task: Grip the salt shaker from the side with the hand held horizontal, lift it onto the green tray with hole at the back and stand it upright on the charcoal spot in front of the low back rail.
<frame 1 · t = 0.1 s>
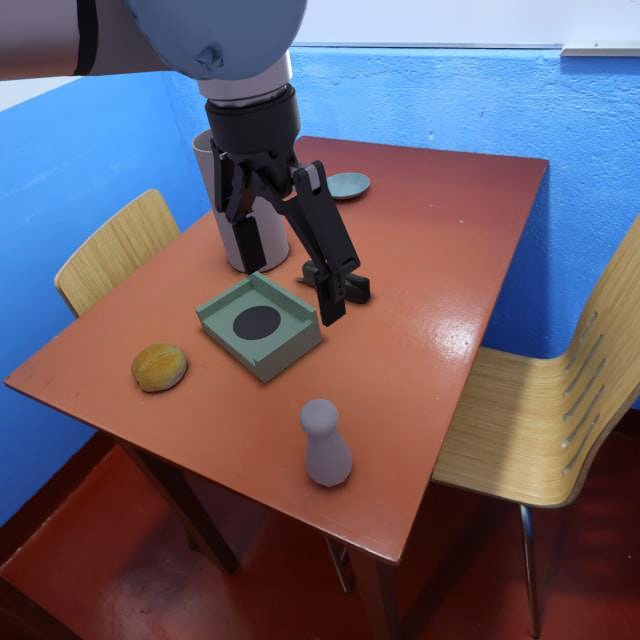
hand: (292, 292, 52), 22 cm above the table, tool pointing down, fingers open, 13 cm apart
salt shaker: (331, 472, 60), on the table
black stapler: (333, 291, 86), on the table
cylinder vase: (259, 256, 97), on the table
bread roll: (161, 372, 76), on the table
green tray with hole: (260, 335, 80), on the table
saucer: (345, 193, 112), on the table
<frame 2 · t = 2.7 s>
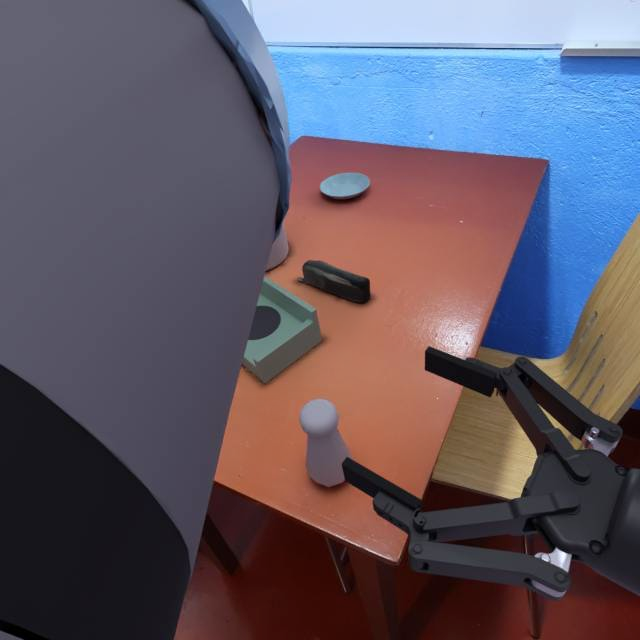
hand: (389, 408, 41), 20 cm above the table, tool horizontal, fingers open, 13 cm apart
nothing on the table moved.
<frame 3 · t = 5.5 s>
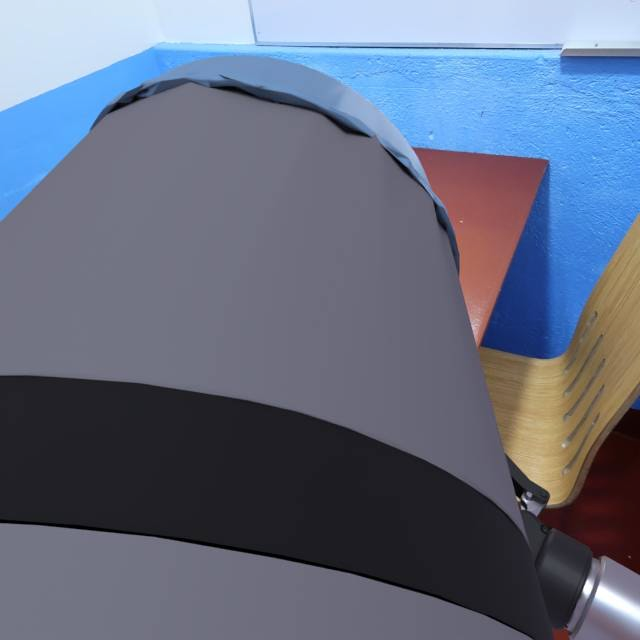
hand: (370, 467, 51), 7 cm above the table, tool horizontal, fingers open, 13 cm apart
nothing on the table moved.
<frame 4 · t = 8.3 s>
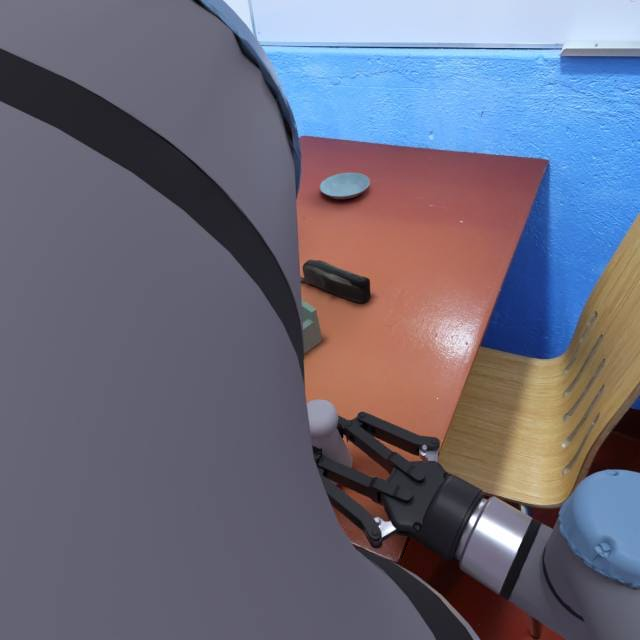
hand: (289, 419, 57), 7 cm above the table, tool horizontal, fingers closed on salt shaker, 3 cm apart
salt shaker: (331, 472, 60), on the table, touching gripper
everything else where it was.
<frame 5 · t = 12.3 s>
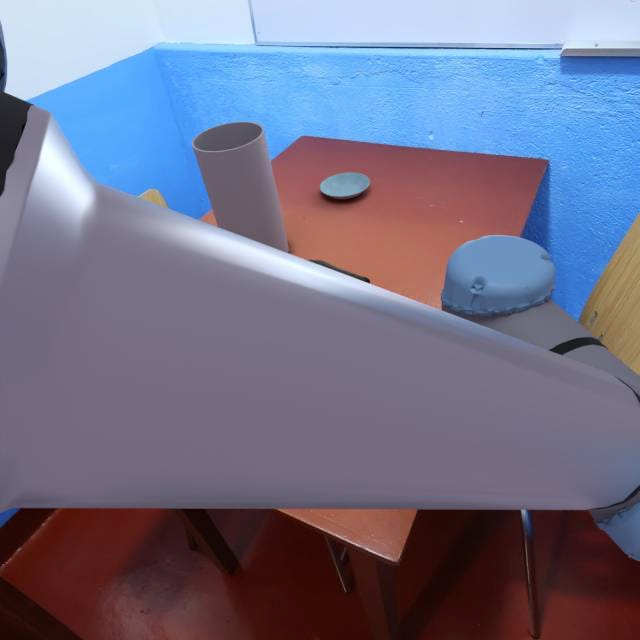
hand: (234, 283, 61), 18 cm above the table, tool horizontal, fingers closed on salt shaker, 3 cm apart
salt shaker: (276, 340, 63), point 10 cm above the table, touching gripper
everything else where it was.
when the fingers open (11 cm above the table, at t = 16.2 s): salt shaker stays where it is, resting on green tray with hole.
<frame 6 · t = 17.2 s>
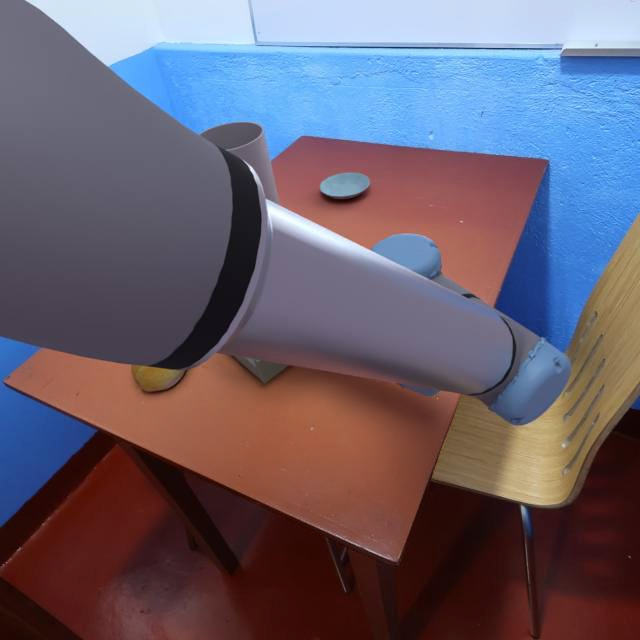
hand: (230, 278, 74), 11 cm above the table, tool horizontal, fingers open, 13 cm apart
salt shaker: (256, 322, 77), point 3 cm above the table, touching green tray with hole
everything else where it was.
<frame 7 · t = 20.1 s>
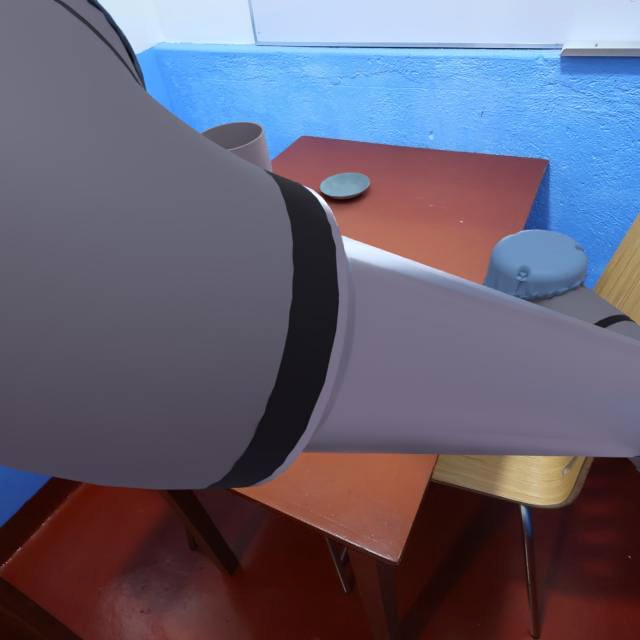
hand: (285, 282, 64), 15 cm above the table, tool horizontal, fingers open, 13 cm apart
nothing on the table moved.
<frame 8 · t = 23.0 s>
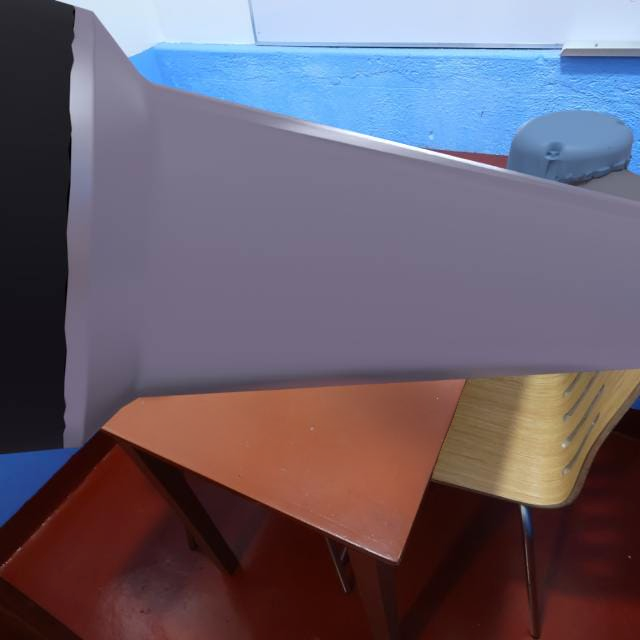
hand: (274, 220, 58), 25 cm above the table, tool horizontal, fingers open, 13 cm apart
nothing on the table moved.
at the end: salt shaker inside the target area on the green tray with hole (0.0 cm from its centre), point 3.0 cm above the green tray with hole's base; salt shaker tilted 0°; the gripper is holding nothing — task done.
